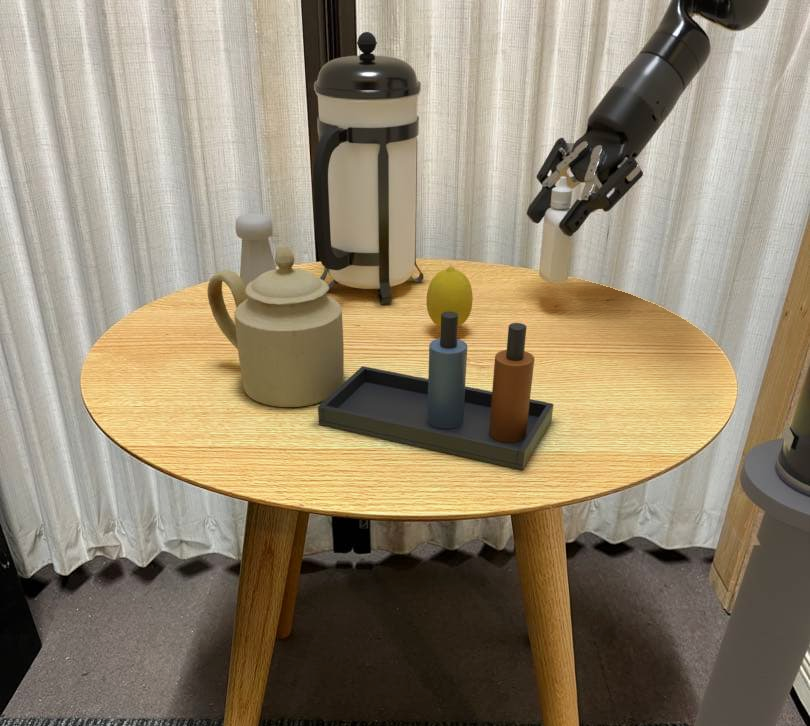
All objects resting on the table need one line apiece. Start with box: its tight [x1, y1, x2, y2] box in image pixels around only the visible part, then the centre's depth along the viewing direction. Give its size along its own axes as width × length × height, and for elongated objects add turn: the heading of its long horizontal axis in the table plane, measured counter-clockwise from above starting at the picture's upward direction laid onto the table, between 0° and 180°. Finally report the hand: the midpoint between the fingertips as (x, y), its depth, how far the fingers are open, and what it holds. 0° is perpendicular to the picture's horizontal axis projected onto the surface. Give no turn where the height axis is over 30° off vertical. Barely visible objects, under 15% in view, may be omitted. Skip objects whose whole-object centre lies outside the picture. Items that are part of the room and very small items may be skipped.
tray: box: [317, 366, 555, 471], centre depth 82 cm, size 21×10×2 cm, turn 67°
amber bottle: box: [489, 322, 535, 443], centre depth 77 cm, size 4×4×11 cm
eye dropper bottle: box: [538, 176, 574, 284], centre depth 102 cm, size 4×6×12 cm
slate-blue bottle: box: [427, 311, 468, 429], centre depth 79 cm, size 4×4×11 cm
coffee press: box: [312, 31, 425, 305], centre depth 104 cm, size 17×16×30 cm
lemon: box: [426, 266, 474, 328], centre depth 99 cm, size 6×6×8 cm
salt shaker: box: [234, 212, 277, 286], centre depth 99 cm, size 6×6×13 cm
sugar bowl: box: [207, 244, 345, 408], centre depth 85 cm, size 15×11×15 cm
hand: (547, 224), depth 101 cm, fingers closed on eye dropper bottle, 5 cm apart
